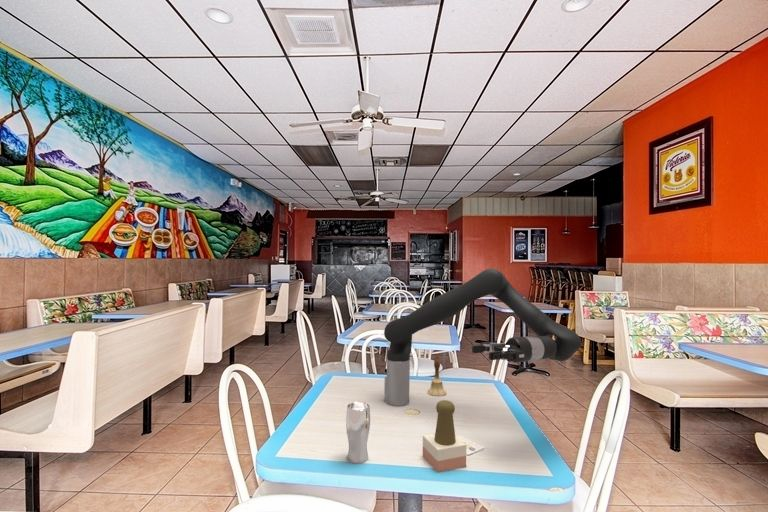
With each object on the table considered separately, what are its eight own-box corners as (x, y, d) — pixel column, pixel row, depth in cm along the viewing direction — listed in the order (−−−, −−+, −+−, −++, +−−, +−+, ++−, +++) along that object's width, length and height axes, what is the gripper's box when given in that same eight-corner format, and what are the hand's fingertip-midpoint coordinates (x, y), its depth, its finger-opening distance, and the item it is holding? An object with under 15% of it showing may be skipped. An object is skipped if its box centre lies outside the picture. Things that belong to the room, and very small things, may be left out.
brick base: (422, 456, 113) (422, 435, 113) (449, 451, 116) (449, 431, 116) (437, 472, 105) (437, 450, 105) (466, 466, 108) (466, 444, 108)
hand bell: (423, 391, 169) (423, 354, 169) (438, 388, 172) (439, 352, 173) (434, 397, 161) (435, 359, 161) (450, 394, 165) (451, 357, 165)
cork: (455, 446, 107) (456, 406, 107) (433, 444, 108) (434, 404, 108) (455, 436, 113) (456, 398, 113) (434, 434, 114) (435, 397, 114)
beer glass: (373, 454, 113) (373, 403, 114) (364, 466, 107) (365, 412, 107) (351, 450, 116) (352, 400, 116) (341, 461, 109) (342, 408, 109)
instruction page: (444, 442, 122) (444, 441, 122) (459, 436, 126) (459, 435, 126) (468, 455, 114) (468, 454, 114) (483, 449, 118) (483, 447, 118)
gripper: (509, 332, 127) (467, 335, 122) (541, 341, 114) (496, 345, 108) (509, 355, 127) (467, 359, 121) (541, 367, 114) (495, 372, 108)
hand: (480, 352), depth 115 cm, fingers open, 8 cm apart
